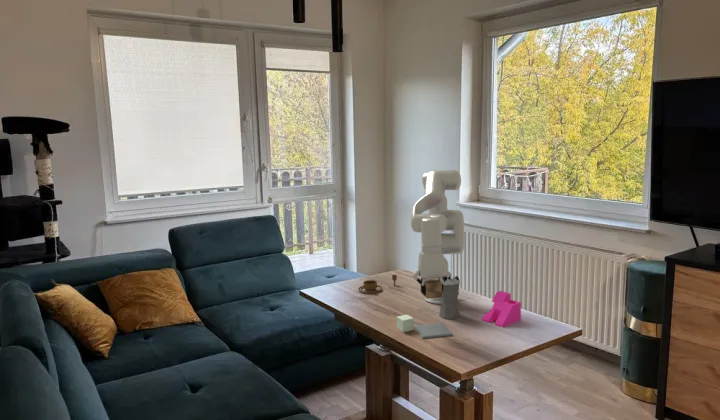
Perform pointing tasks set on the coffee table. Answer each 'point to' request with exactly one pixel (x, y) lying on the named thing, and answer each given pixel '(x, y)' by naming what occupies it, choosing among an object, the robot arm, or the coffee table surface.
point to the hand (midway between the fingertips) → (432, 293)
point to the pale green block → (405, 323)
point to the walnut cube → (433, 288)
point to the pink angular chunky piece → (503, 310)
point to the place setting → (374, 285)
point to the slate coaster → (432, 330)
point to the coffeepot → (450, 299)
